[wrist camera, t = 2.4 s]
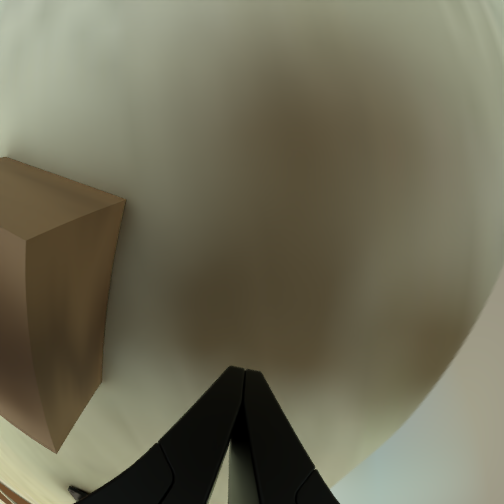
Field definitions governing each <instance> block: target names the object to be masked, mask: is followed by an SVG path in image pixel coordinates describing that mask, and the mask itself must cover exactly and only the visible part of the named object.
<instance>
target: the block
mask: <svg viewBox="0 0 504 504" xmlns="http://www.w3.org/2000/svg"><path fill="white" fill-rule="evenodd" d="M125 203H126V199H123V198H120V197H118V196H115V195H112V194H109V193H106V192H104V191H101V190H98V189H95V188H92V187H90V186H87V185H84V184H81V183H78V182H75V181H73V180H70V179H67V178H64V177H61V176H59V175H56V174H53V173H50V172H47V171H44V170H42V169H39V168H36V167H33V166H30V165H27V164H24V163H22V162H19V161H16V160H13V159H10V158H7V157H2V158H0V415H1V416H2V417H3V418H5V419H6V420H7V421H9V422H10V423H11V424H13V425H14V426H15V427H17V428H18V429H19V430H21V431H22V432H23V433H25V434H26V435H28V436H29V437H31V438H32V439H34V440H35V441H37V442H38V443H40V444H41V445H43V446H44V447H46V448H47V449H49V450H51V451H52V452H54V453H56V454H57V453H58V451H59V449H60V448H61V446H62V444H63V442H64V441H65V439H66V438H67V436H68V434H69V433H70V431H71V429H72V428H73V426H74V424H75V423H76V421H77V420H78V418H79V416H80V415H81V413H82V412H83V410H84V408H85V407H86V405H87V404H88V402H89V401H90V399H91V398H92V396H93V394H94V393H95V391H96V390H97V388H98V387H99V385H100V384H101V382H102V359H103V344H104V332H105V321H106V312H107V303H108V295H109V288H110V281H111V274H112V268H113V262H114V256H115V251H116V245H117V240H118V235H119V230H120V225H121V221H122V216H123V211H124V207H125Z"/></svg>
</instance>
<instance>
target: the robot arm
mask: <svg viewBox="0 0 504 504" xmlns="http://www.w3.org/2000/svg"><path fill="white" fill-rule="evenodd" d="M229 443H230V450H229V485H228V504H340V503H339V502H338V501H337V499H336V498H335V497H334V496H333V494H332V492H331V491H330V489H329V488H328V486H327V485H326V483H325V482H324V480H323V479H322V477H321V475H320V474H319V472H318V470H317V469H315V466H314V464H313V462H312V461H311V459H310V457H309V456H308V454H307V452H306V451H305V449H304V447H303V446H302V444H301V442H300V440H299V439H298V437H297V435H296V433H295V432H294V430H293V428H292V426H291V425H290V423H289V421H288V419H287V418H286V416H285V414H284V412H283V411H282V409H281V407H280V405H279V403H278V402H277V400H276V398H275V396H274V394H273V393H272V391H271V389H270V387H269V385H268V383H267V382H266V380H265V378H264V376H263V374H262V373H261V372H260V371H256V370H250V369H246V370H244V368H240V367H235V366H229V367H228V368H227V369H226V370H225V371H224V372H223V373H222V374H221V376H220V377H219V378H218V379H217V380H216V381H215V382H214V383H213V384H212V385H211V386H210V388H209V389H208V390H207V391H206V392H205V393H204V394H203V395H202V396H201V397H200V398H199V399H198V400H197V402H196V403H195V404H194V405H193V406H192V407H191V408H190V409H189V410H188V411H187V412H186V413H185V414H184V415H183V416H182V417H181V418H180V419H179V420H178V421H177V422H176V423H175V424H174V426H173V427H172V428H171V429H170V430H169V431H168V432H167V433H166V434H165V435H164V436H163V437H162V438H161V439H160V440H159V441H158V443H155V444H154V445H153V446H152V447H151V448H150V449H149V450H148V451H147V452H146V453H145V454H144V455H143V456H142V457H141V458H140V459H138V460H137V461H136V462H135V463H134V464H133V465H132V466H130V467H129V468H128V469H126V470H125V471H124V472H122V473H121V474H119V475H118V476H117V477H115V478H114V479H112V480H111V481H109V482H108V483H106V484H105V485H103V486H102V487H100V488H98V489H97V490H95V491H94V492H92V493H90V494H89V495H88V494H85V493H83V492H81V491H79V490H77V489H75V488H73V487H71V486H69V488H68V491H69V492H70V493H71V495H72V496H73V497H74V499H75V500H76V503H74V504H208V503H209V500H210V498H211V495H212V492H213V489H214V487H215V484H216V481H217V478H218V475H219V472H220V470H221V467H222V464H223V461H224V458H225V455H226V452H227V449H228V446H229ZM314 469H315V470H314Z"/></svg>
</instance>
